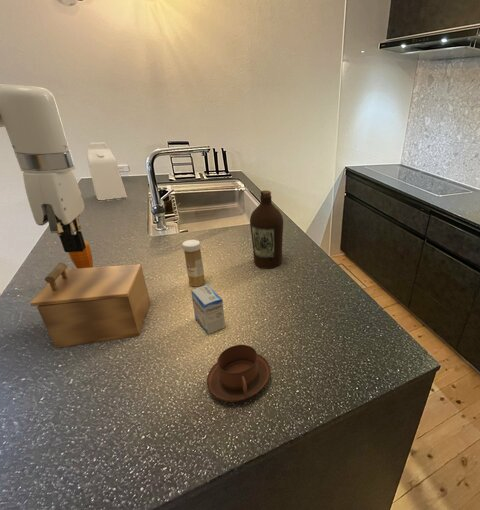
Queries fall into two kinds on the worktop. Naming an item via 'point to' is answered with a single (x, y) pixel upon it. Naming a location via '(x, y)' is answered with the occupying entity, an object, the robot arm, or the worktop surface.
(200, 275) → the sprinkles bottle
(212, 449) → the worktop surface
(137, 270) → the lid
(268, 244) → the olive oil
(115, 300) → the chest
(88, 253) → the carrot
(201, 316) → the medicine box
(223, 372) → the cup and saucer
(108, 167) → the milk
